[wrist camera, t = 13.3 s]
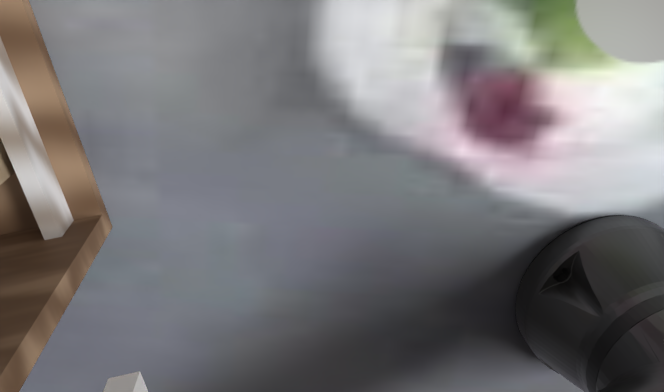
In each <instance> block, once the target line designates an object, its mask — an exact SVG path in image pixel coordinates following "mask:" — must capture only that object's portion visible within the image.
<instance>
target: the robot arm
mask: <svg viewBox="0 0 664 392" xmlns="http://www.w3.org/2000/svg"><path fill="white" fill-rule="evenodd" d="M515 311H516V320H517V324H518V327H519V330H520V332H521V334H522V336H523V338H524V339H525V341H526V342H527V344H528V345H529V347H530V348H531V350H532V351H533V352H534V354H535V355H536V356H537V357H538V358H539V359H540V360H541V362H543V363H544V364H545V365H546V366H547V367H549V368H550V369H552V370H554V371H555V372H557V373H559V374H561V375H562V376H563V377H565V378H566V379H567V380H569V381H570V382H572V383H573V384H574V385H576V386H577V387H579V388H580V389H582V390H583V391H584V392H664V229H663V228H661V227H660V226H658V225H657V224H655V223H653V222H651V221H648V220H645V219H642V218H638V217H632V216H610V217H604V218H599V219H595V220H592V221H588V222H586V223H583V224H581V225H578V226H576V227H574V228H572V229H570V230H568V231H567V232H565V233H563V234H562V235H560V236H559V237H558V238H556V239H555V240H554V241H552V242H551V243H550V244H549V245H548V246H546V247H545V248H544V249H543V250H542V251H541V252H540V254H539V255H538V256H537V257H536V258H535V259H534V261H533V262H532V263H531V265H530V266H529V268H528V270H527V271H526V273H525V275H524V277H523V279H522V281H521V284H520V286H519V289H518V293H517V298H516V310H515ZM103 392H148V390H147V388H146V385H145V383H144V380H143V378H142V376H141V373H140V371H139V372H135V373H130V374H126V375H121V376H117V377H112V378H108V381H107V383H106V386H105V388H104V391H103Z"/></svg>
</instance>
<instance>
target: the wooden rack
mask: <svg viewBox="0 0 664 392" xmlns="http://www.w3.org/2000/svg"><path fill="white" fill-rule="evenodd" d="M0 138H1V140H2V143H3V145H4V147H5V150H6V152H7V154H8V156H9V159H10V161H11V163H12V166H13V168H14V170H15V173H14V174H13V175H11V176H10V177H9V178H8V179H7V180H6V181H4V182H3V183H2V184H1V185H0V392H19V391H20V389H21V387H22V386H23V384H24V382H25V380H26V379H27V377H28V375H29V373H30V371H31V370H32V368H33V366H34V364H35V363H36V361H37V359H38V357H39V356H40V354H41V352H42V350H43V349H44V347H45V345H46V343H47V342H48V340H49V338H50V336H51V334H52V333H53V331H54V329H55V327H56V326H57V324H58V322H59V320H60V319H61V317H62V315H63V313H64V312H65V310H66V308H67V306H68V305H69V303H70V301H71V299H72V297H73V296H74V294H75V292H76V290H77V289H78V287H79V285H80V283H81V282H82V280H83V278H84V276H85V275H86V273H87V271H88V269H89V268H90V266H91V264H92V262H93V260H94V259H95V257H96V255H97V253H98V252H99V250H100V248H101V246H102V245H103V243H104V241H105V239H106V238H107V236H108V234H109V232H110V230H111V229H112V225H111V222H110V219H109V217H108V214H107V211H106V208H105V206H104V203H103V200H102V198H101V195H100V192H99V190H98V187H97V184H96V181H95V179H94V176H93V173H92V171H91V168H90V165H89V162H88V160H87V157H86V154H85V152H84V149H83V146H82V143H81V141H80V138H79V135H78V133H77V130H76V127H75V125H74V122H73V119H72V116H71V114H70V111H69V108H68V106H67V103H66V100H65V97H64V95H63V92H62V89H61V87H60V84H59V81H58V79H57V76H56V73H55V70H54V68H53V65H52V62H51V60H50V57H49V54H48V51H47V49H46V46H45V43H44V41H43V38H42V35H41V33H40V30H39V27H38V24H37V22H36V19H35V16H34V14H33V11H32V8H31V5H30V3H29V0H0Z"/></svg>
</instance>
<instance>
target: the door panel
mask: <svg viewBox="0 0 664 392" xmlns="http://www.w3.org/2000/svg"><path fill="white" fill-rule="evenodd" d="M14 173H15V170H14V168H13V166H12V163H11V161H10V159H9V156H8V154H7V152H6V150H5V147H4V145H3V143H2V140H1V138H0V185H1V184H2V183H3V182H4V181H6V180H7V179H8V178H9V177H10V176H11V175H13V174H14Z"/></svg>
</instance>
